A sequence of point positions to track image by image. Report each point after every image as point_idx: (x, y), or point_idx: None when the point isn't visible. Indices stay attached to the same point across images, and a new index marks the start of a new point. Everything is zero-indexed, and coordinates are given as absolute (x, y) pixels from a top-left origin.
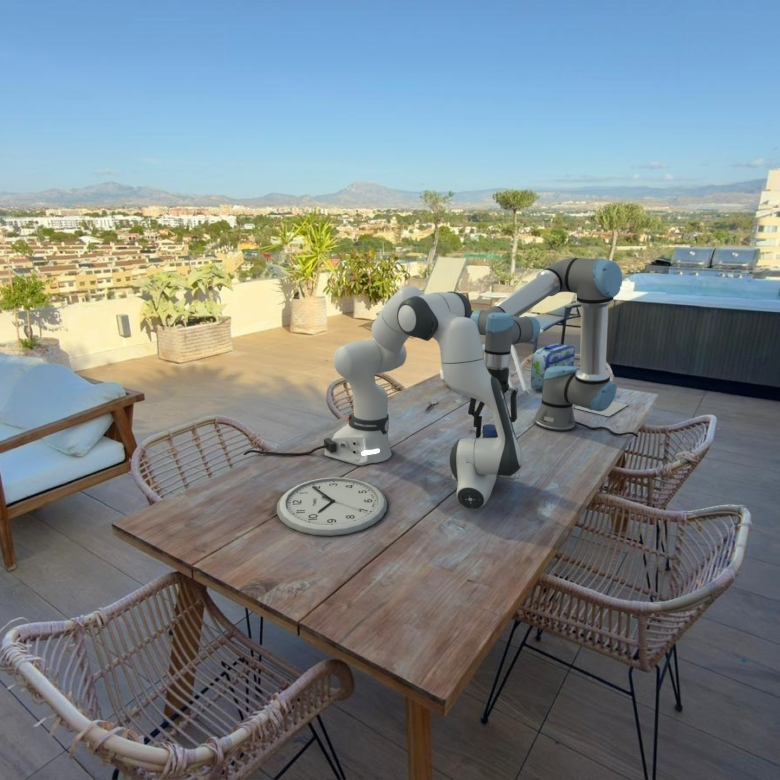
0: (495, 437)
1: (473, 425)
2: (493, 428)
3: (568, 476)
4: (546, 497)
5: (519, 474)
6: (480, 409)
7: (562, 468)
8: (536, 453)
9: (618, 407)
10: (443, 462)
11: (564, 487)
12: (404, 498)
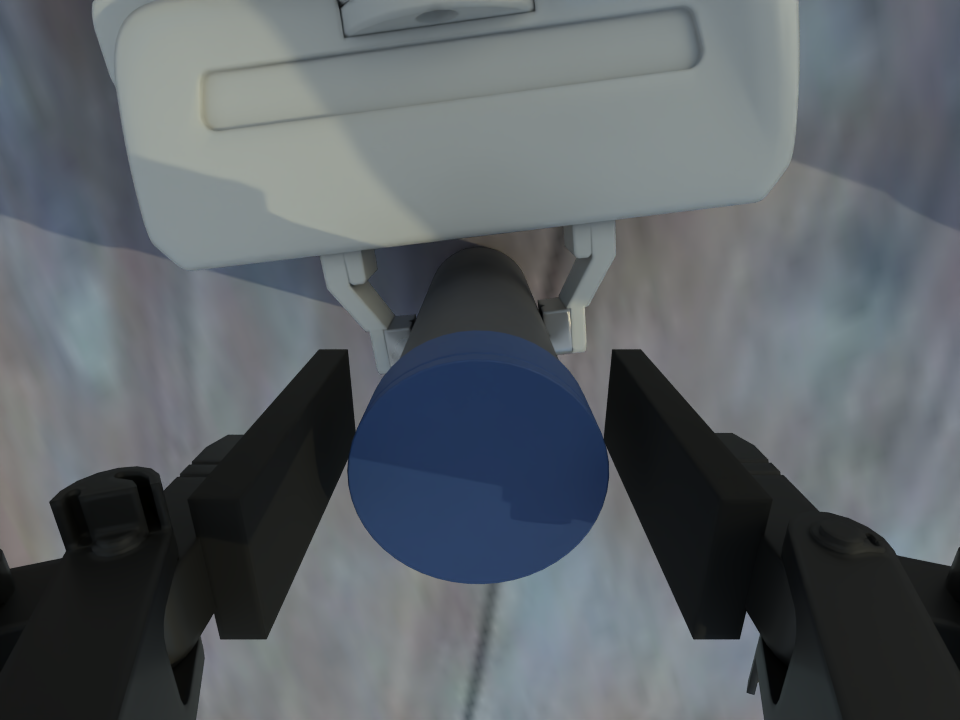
0: None
1: (751, 444)
2: (435, 452)
3: None
4: (46, 158)
5: (112, 74)
6: (854, 713)
7: None
8: (320, 654)
9: None
10: (786, 326)
11: (26, 346)
12: None
